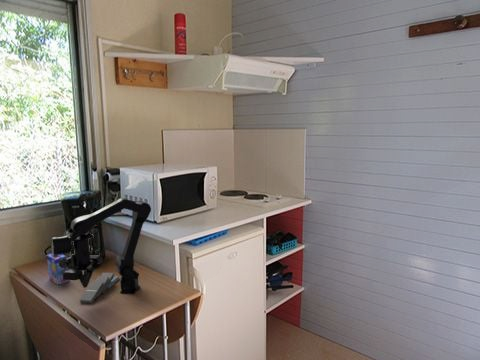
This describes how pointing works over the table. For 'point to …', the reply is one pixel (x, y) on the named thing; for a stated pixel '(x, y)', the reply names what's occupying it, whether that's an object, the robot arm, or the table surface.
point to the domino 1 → (91, 292)
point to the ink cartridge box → (56, 268)
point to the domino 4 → (113, 281)
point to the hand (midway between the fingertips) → (85, 287)
